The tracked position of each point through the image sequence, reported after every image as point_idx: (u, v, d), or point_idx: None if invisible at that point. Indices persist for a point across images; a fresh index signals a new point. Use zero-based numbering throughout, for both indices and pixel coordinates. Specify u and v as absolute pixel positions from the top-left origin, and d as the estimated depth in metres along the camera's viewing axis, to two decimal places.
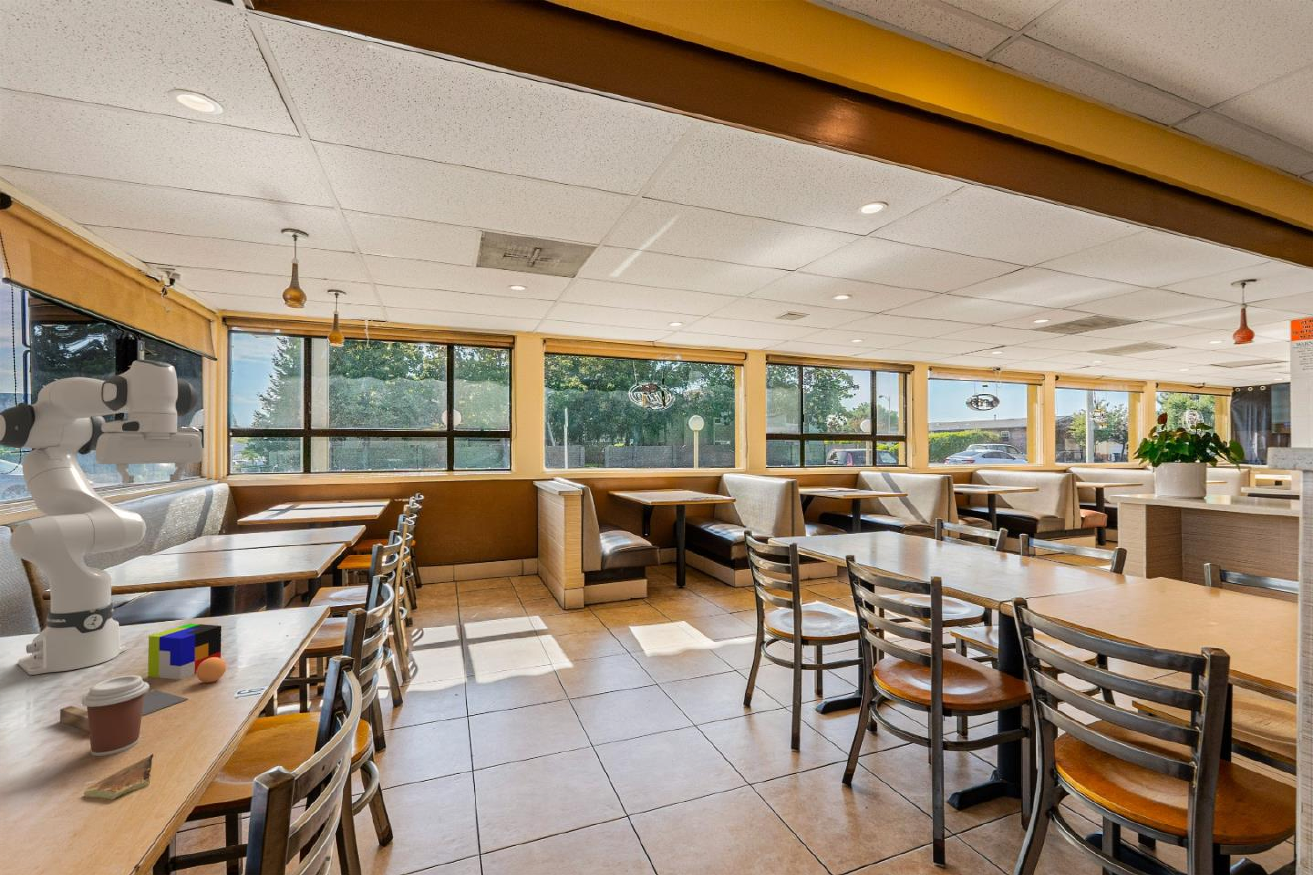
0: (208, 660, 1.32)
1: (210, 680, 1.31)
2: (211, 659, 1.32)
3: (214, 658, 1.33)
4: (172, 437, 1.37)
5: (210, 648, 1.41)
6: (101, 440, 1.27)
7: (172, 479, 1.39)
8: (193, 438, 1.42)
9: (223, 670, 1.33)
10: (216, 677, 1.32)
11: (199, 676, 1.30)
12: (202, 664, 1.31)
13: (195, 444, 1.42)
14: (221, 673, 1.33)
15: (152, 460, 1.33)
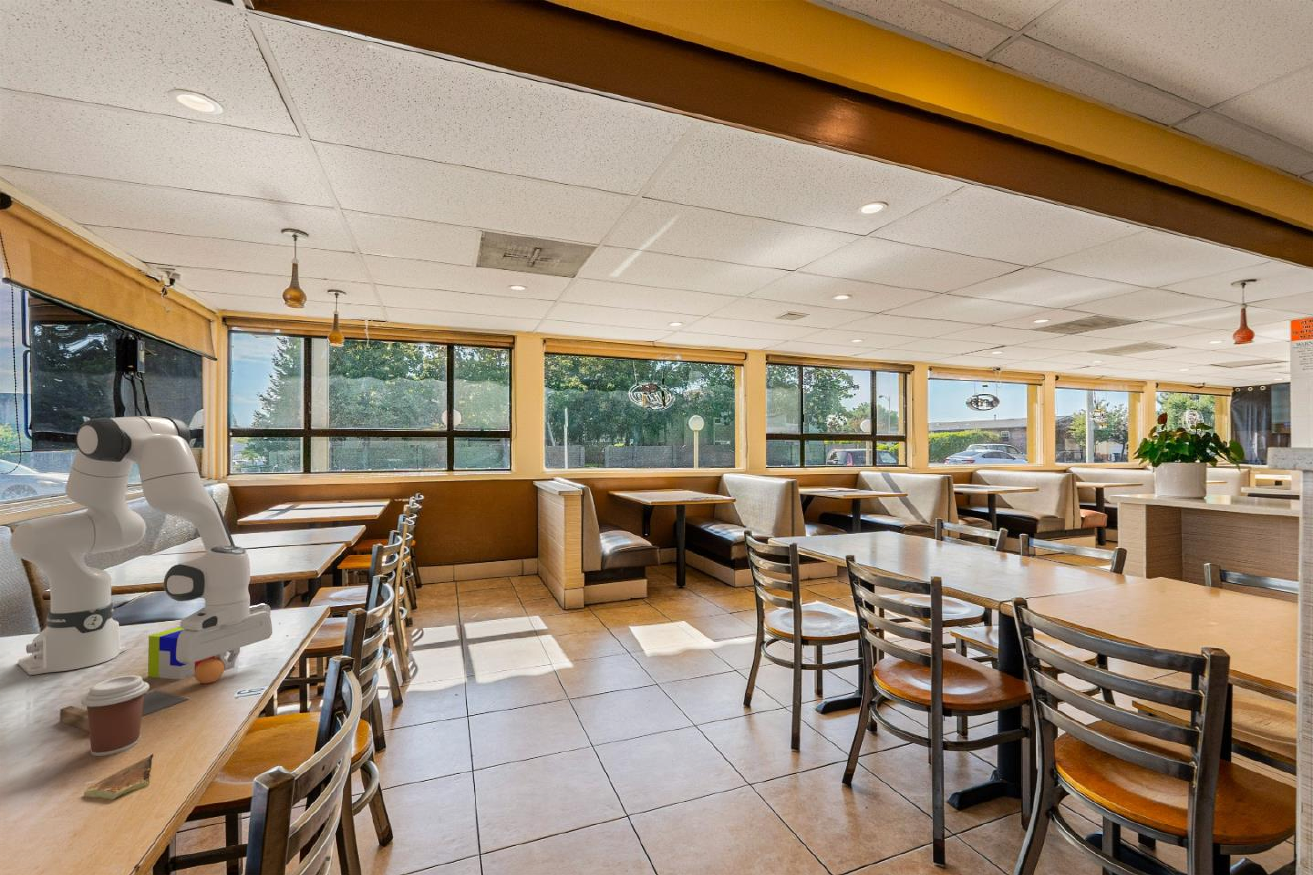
0: (205, 662, 1.31)
1: (209, 681, 1.31)
2: (207, 661, 1.32)
3: (211, 660, 1.32)
4: (245, 620, 1.39)
5: None
6: (182, 639, 1.28)
7: None
8: (264, 616, 1.43)
9: (221, 671, 1.33)
10: (215, 678, 1.32)
11: (197, 678, 1.30)
12: (199, 667, 1.30)
13: (265, 621, 1.43)
14: (219, 674, 1.32)
15: (228, 648, 1.35)
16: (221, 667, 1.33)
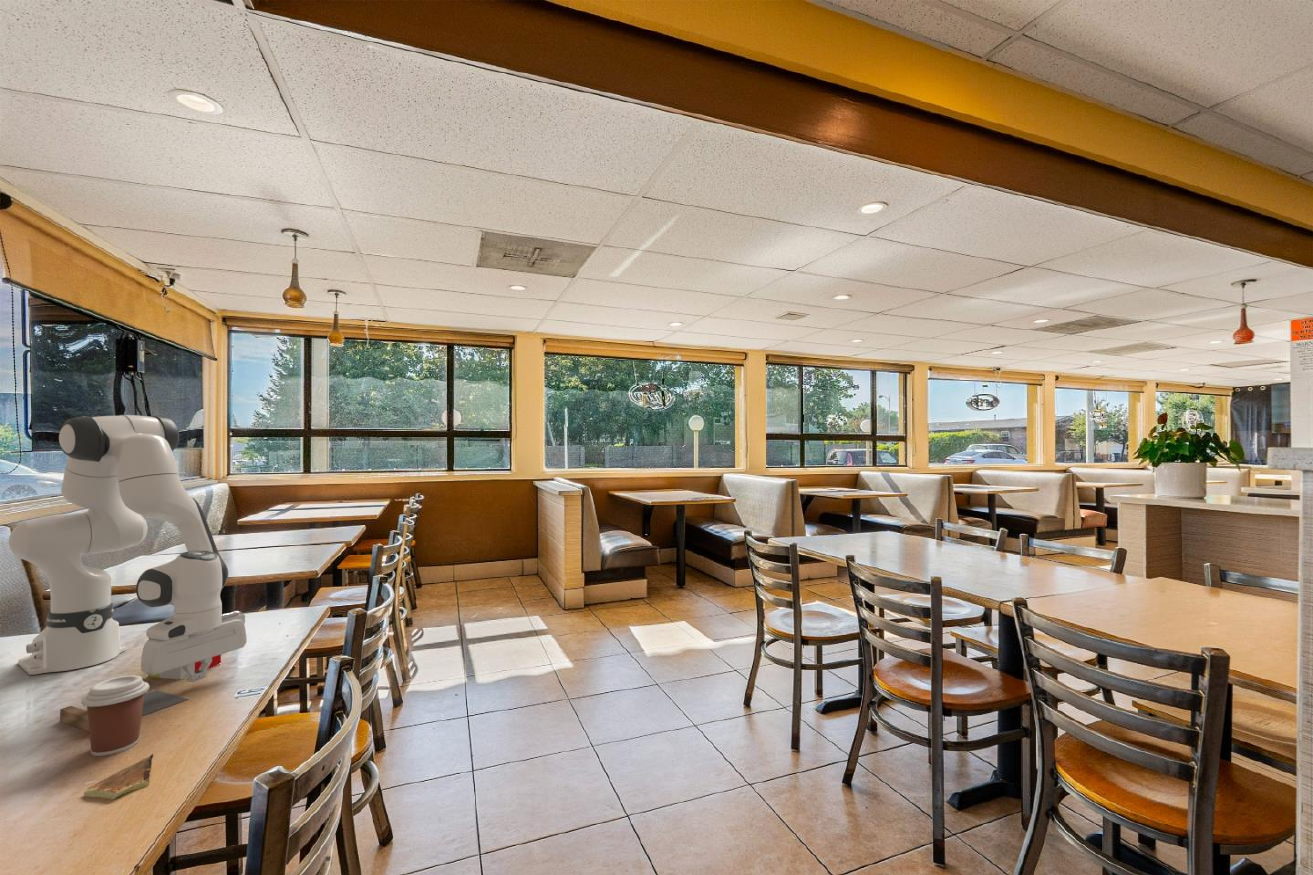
0: None
1: None
2: None
3: None
4: (217, 629, 1.33)
5: None
6: (147, 649, 1.22)
7: None
8: (237, 624, 1.37)
9: None
10: None
11: None
12: None
13: (239, 630, 1.37)
14: None
15: (197, 658, 1.29)
16: None
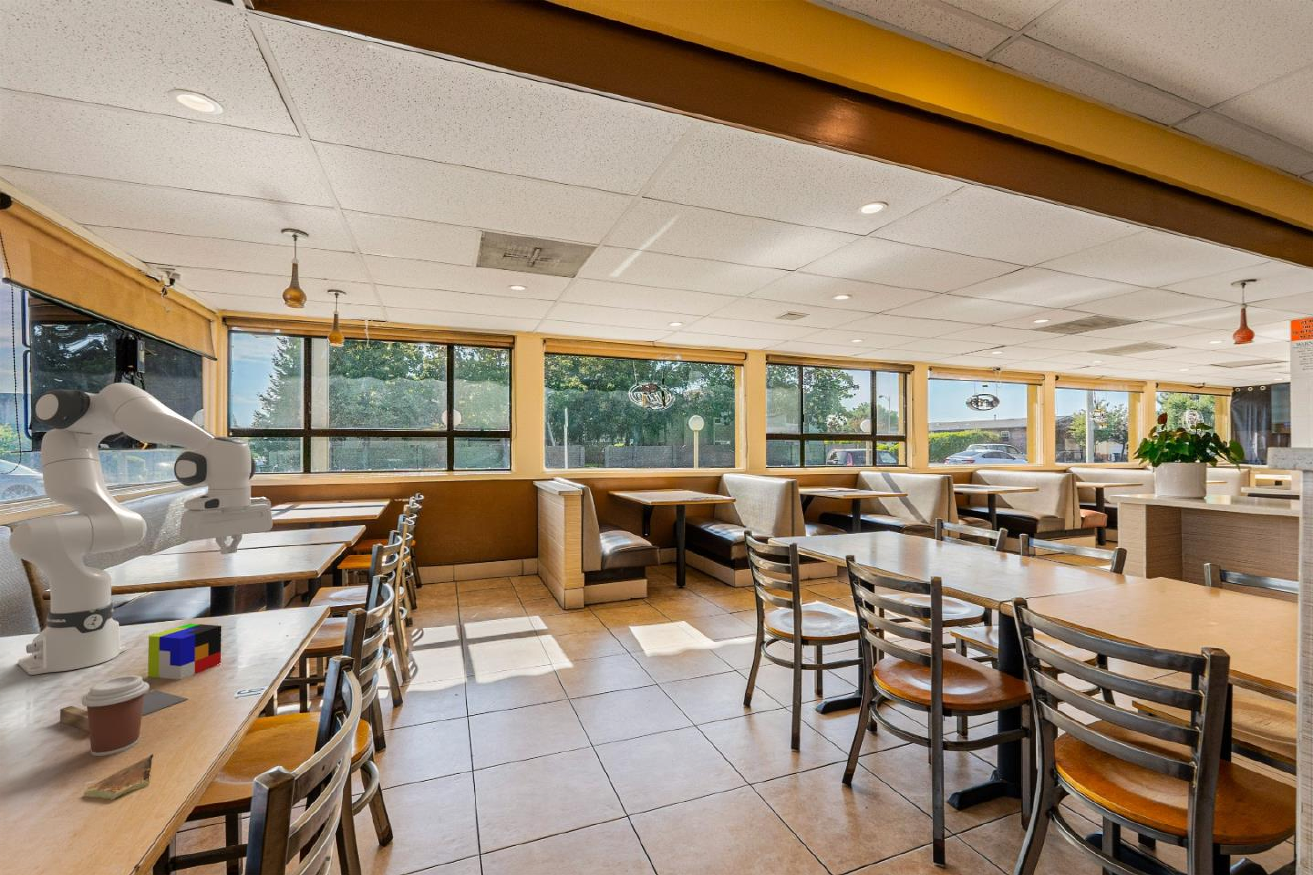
0: None
1: None
2: None
3: None
4: (246, 509, 1.45)
5: (210, 648, 1.41)
6: (185, 518, 1.34)
7: None
8: (264, 508, 1.49)
9: None
10: None
11: None
12: None
13: (266, 514, 1.49)
14: None
15: (229, 533, 1.41)
16: None
